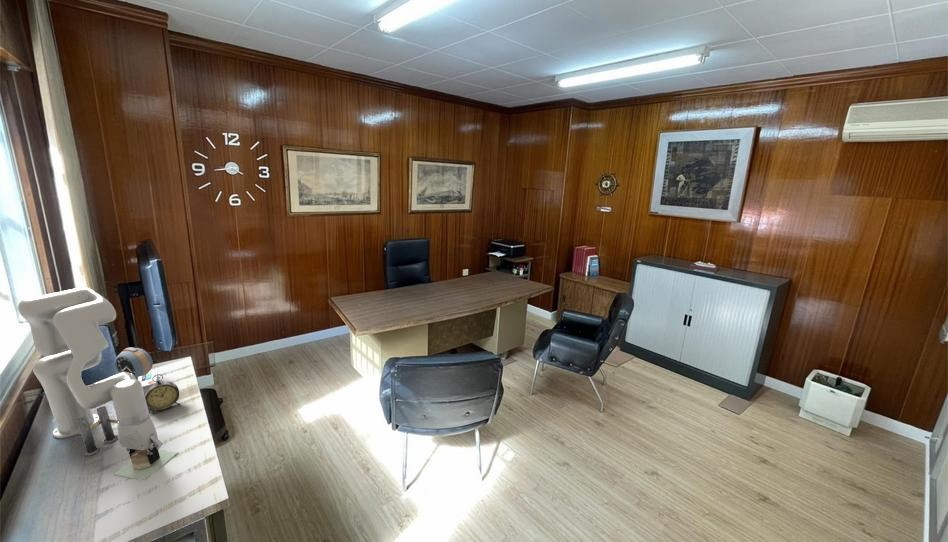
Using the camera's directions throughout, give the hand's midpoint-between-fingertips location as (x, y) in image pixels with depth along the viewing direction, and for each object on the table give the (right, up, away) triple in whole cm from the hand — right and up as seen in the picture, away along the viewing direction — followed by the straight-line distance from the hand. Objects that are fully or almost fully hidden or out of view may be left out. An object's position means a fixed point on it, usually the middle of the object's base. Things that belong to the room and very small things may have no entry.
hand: (145, 459), depth 126 cm
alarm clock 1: (-45, +12, +46) cm, 66 cm away
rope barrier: (-16, 0, +7) cm, 17 cm away
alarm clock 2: (-18, +7, +29) cm, 34 cm away
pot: (0, -1, 0) cm, 1 cm away
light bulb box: (-27, +8, +33) cm, 44 cm away
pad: (0, -2, 0) cm, 2 cm away
